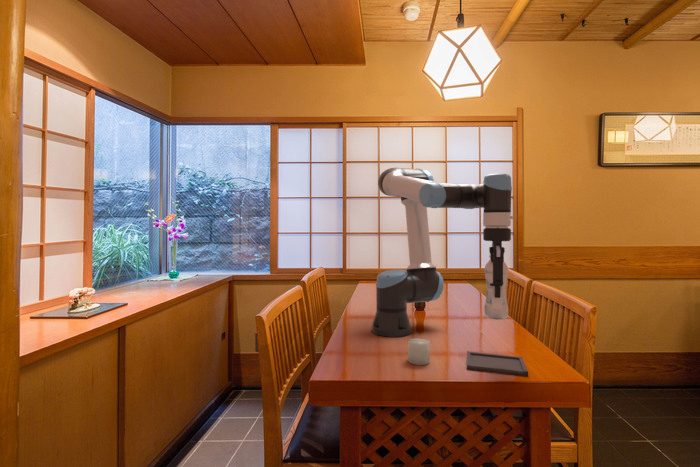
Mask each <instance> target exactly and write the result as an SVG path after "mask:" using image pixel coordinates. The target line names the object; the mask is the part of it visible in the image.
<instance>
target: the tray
mask: <svg viewBox="0 0 700 467" xmlns="http://www.w3.org/2000/svg"><path fill="white" fill-rule="evenodd" d="M466 370H468V371H470V370H471V371H477V372H487V373H495V374H504V375H513V376H523V377H529V370H528V367H527V366H526V364H525V360H524V358H523V356H516V355H506V354H497V353H486V352H479V351H478V352H477V351H476V352H475V351H466Z"/></svg>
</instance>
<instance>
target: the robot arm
mask: <svg viewBox="0 0 700 467" xmlns="http://www.w3.org/2000/svg"><path fill="white" fill-rule="evenodd" d="M377 180H378V181H377V185H378V189H379V191H380V192H381V193H382V194H384V195H385V196H389V197H394V198H395V197H396V198H400V203H401V204H402V205H403V206H404V207H405V219H406V230H407V232H406V233H407V244H408V256H409V257H408V258H409V265H408V267H406V270H405V269H388V270H385V271H382V272H380V273H378V274H377V276H376V282H375V286H376V290H375V292H376V293H375V294H376V295H375V296H376V310H375V315H374V318H373V321H372V324H371V332H372V333H373V334H375V335H378V336H381V337H388V338H389V337H390V338H399V337H406V336H408V335H411V333H412V324H411V321H410V318H409V315H408V307H407V306H408V304H414V303H428V302H429V303H430V302H434V301H437V300H438V299H439V298H441V296H442V294H443V291H444V285H445V284H444V283H445V282H444V277H443V276H442V274H441V273H440V272H439V271H437V267H436V266H435V264H433V262H432V252H431V243H430V242H431V241H430V229H429V228H430V227H429V217H428V208H431V209H441V208H442V209H464V210H465V209H466V210H473V209H483V214H482V215H483V219H482V224H483V225H482V226H484V229H483V230H482V231H483V232H482V233H483V234H482V236H483V239H482V240H484V241H485V242H491V246H489V248H488V251H489V255H490V254H491V262H492V263H493V283H490V286H492V309H502V285H503V262H505V258H504V257H505V252H506V251H505V250H506V248H505V247H504V246H502V245H503V243H502V242H510V241H511V240H512V229H511V228H510V227H511V225H512V220H513V219H514V216H513V215H512V191H513V188H512V187H513V186H512V177H511V175H510V174H508V173H490V174H486V175H485V176H484V177H483V182H482V183H475V184H473V183H472V184H471V183H468V184H467V183H447V182H438V181H435V179H434V176H433V175H432V173H431V172H430V171H429V170H426V169H422V168H409V167H407V168H406V167H404V168H403V167H391V168H390V167H389V168H388V169H384V171H383V172H381V174H380V175H379V177H378V179H377ZM496 280H498V281H496Z"/></svg>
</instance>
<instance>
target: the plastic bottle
mask: <svg viewBox="0 0 700 467" xmlns="http://www.w3.org/2000/svg"><path fill="white" fill-rule="evenodd" d="M488 256H489V260H488V262H486V264H485V265H484V276H485V285H486V292H485V293H486V294H485V302H484V308H483V310H484V315H485V316H486V318H489V319H493V320H497V321H498V320H506V319H507V318H508V317H509V313H510V312H509V306H508V299H507V297H508V296H507V285H508V284H507V282H508V275H509V267H508V265H507V263H506V262H505V261H504V262H503V285H502V309H492V286H490V283H493V263H492V262H491V254H490V253H489V255H488ZM496 281H498V280H496Z"/></svg>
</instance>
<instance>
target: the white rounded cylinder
mask: <svg viewBox="0 0 700 467" xmlns="http://www.w3.org/2000/svg"><path fill="white" fill-rule="evenodd" d="M430 343H431V342H430V340H428V339H425V338H410V339H408V340H407V345H408V346H407V362H408V363H410V364H412V365H416V366H425V365H429V364H430V355H431V354H430V348H431V347H430V346H431V344H430Z"/></svg>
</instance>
